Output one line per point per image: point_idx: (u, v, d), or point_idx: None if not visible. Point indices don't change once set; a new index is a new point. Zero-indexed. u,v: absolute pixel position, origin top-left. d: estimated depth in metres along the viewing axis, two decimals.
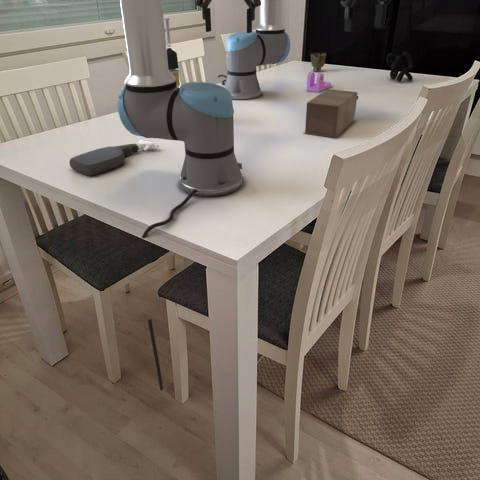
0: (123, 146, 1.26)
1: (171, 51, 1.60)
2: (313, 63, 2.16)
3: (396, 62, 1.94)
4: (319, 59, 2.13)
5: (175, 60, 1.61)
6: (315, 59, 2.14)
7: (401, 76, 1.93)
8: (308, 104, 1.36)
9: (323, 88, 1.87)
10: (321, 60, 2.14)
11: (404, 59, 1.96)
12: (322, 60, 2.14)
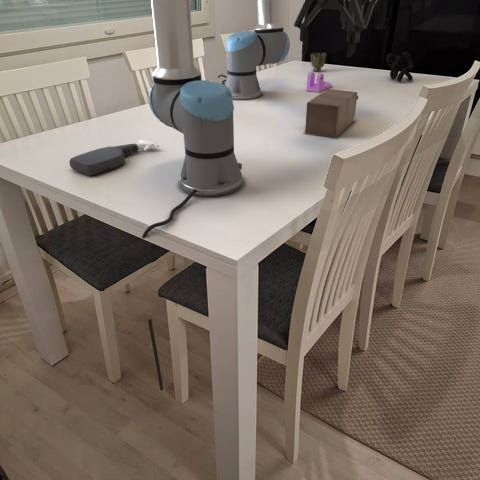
0: (123, 146, 1.26)
1: None
2: (313, 63, 2.16)
3: (396, 62, 1.94)
4: (319, 59, 2.13)
5: None
6: (315, 59, 2.14)
7: (401, 76, 1.93)
8: (308, 104, 1.36)
9: (323, 88, 1.87)
10: (321, 60, 2.14)
11: (404, 59, 1.96)
12: (322, 60, 2.14)
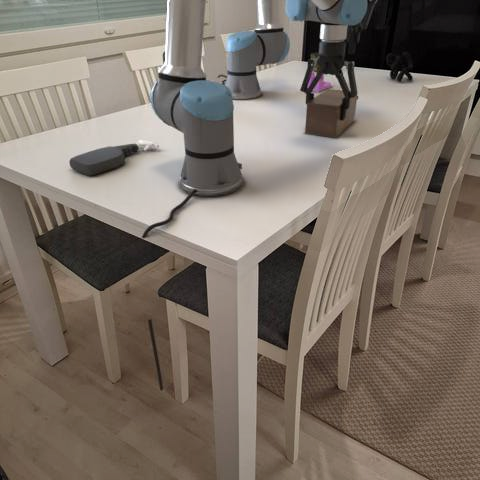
0: (123, 146, 1.26)
1: None
2: None
3: (396, 62, 1.94)
4: None
5: None
6: None
7: (401, 76, 1.93)
8: (308, 104, 1.36)
9: (323, 88, 1.87)
10: None
11: (404, 59, 1.96)
12: None
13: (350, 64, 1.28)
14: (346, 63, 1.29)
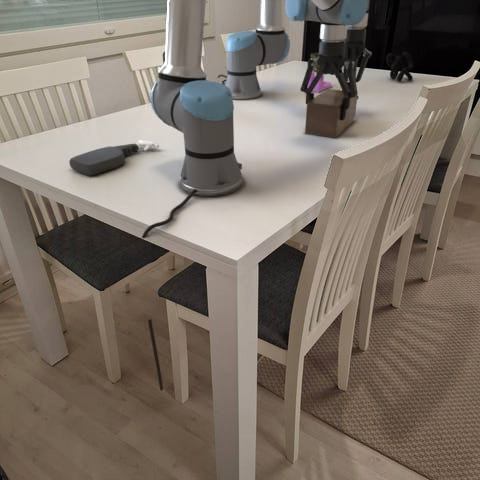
0: (123, 146, 1.26)
1: None
2: None
3: (396, 62, 1.94)
4: None
5: None
6: None
7: (401, 76, 1.93)
8: (308, 104, 1.36)
9: (323, 88, 1.87)
10: None
11: (404, 59, 1.96)
12: None
13: (350, 64, 1.28)
14: (346, 63, 1.29)
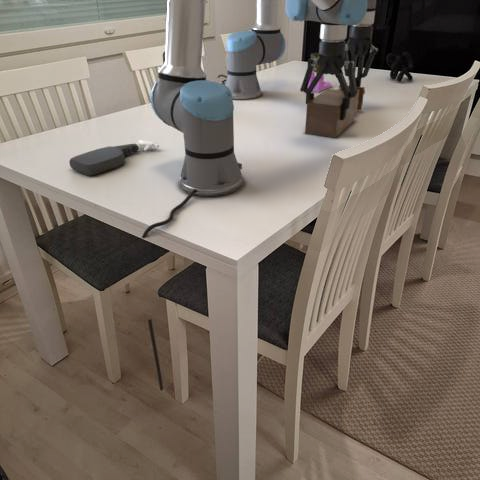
0: (123, 146, 1.26)
1: None
2: None
3: (396, 62, 1.94)
4: None
5: None
6: None
7: (401, 76, 1.93)
8: (308, 104, 1.36)
9: (323, 88, 1.87)
10: None
11: (404, 59, 1.96)
12: None
13: (350, 64, 1.28)
14: (346, 63, 1.29)
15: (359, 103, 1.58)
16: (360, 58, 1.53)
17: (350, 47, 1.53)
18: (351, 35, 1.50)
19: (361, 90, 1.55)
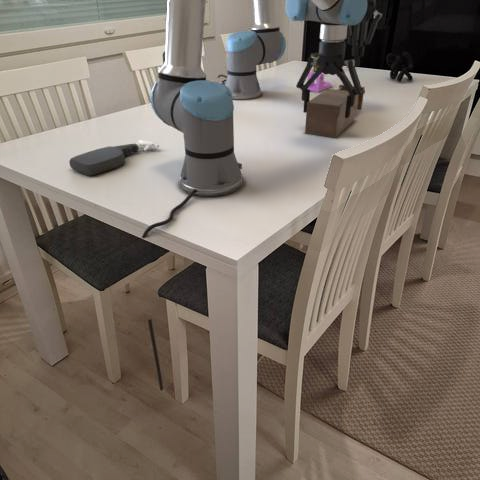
0: (123, 146, 1.26)
1: None
2: None
3: (396, 62, 1.94)
4: None
5: None
6: None
7: (401, 76, 1.93)
8: (308, 104, 1.36)
9: (323, 88, 1.87)
10: None
11: (404, 59, 1.96)
12: None
13: (350, 62, 1.27)
14: (346, 62, 1.29)
15: (359, 103, 1.58)
16: (363, 24, 1.47)
17: None
18: None
19: None
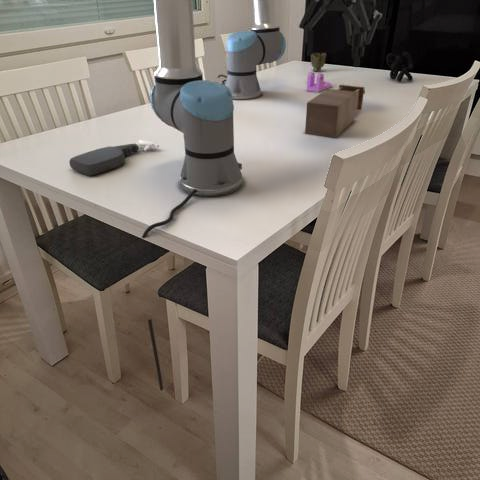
0: (123, 146, 1.26)
1: None
2: (313, 63, 2.16)
3: (396, 62, 1.94)
4: (319, 59, 2.13)
5: None
6: (315, 59, 2.14)
7: (401, 76, 1.93)
8: (308, 104, 1.36)
9: (323, 88, 1.87)
10: (321, 60, 2.14)
11: (404, 59, 1.96)
12: (322, 60, 2.14)
13: None
14: None
15: (359, 103, 1.58)
16: None
17: None
18: None
19: (361, 90, 1.55)
